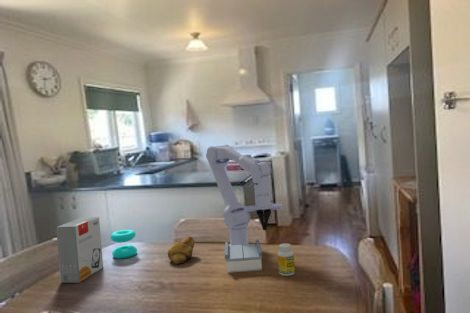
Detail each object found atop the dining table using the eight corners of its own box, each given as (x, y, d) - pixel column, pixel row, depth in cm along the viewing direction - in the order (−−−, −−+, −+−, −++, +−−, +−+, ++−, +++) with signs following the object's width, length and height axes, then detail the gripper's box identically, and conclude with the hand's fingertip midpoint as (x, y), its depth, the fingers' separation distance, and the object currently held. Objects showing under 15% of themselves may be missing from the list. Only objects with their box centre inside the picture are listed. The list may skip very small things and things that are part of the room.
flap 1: (225, 247, 142) (225, 242, 142) (241, 246, 142) (241, 240, 142) (225, 261, 127) (224, 255, 127) (243, 259, 127) (242, 253, 127)
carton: (227, 258, 142) (226, 248, 142) (258, 256, 142) (257, 246, 142) (227, 272, 128) (226, 261, 128) (261, 270, 128) (261, 259, 128)
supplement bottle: (285, 268, 128) (283, 241, 127) (298, 272, 124) (296, 244, 123) (275, 273, 124) (273, 245, 124) (288, 277, 120) (286, 248, 120)
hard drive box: (79, 283, 128) (73, 226, 127) (60, 283, 130) (54, 227, 128) (104, 266, 143) (99, 216, 142) (86, 266, 145) (81, 216, 143)
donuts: (130, 234, 149) (106, 236, 150) (133, 258, 150) (108, 260, 151) (138, 228, 159) (115, 229, 160) (140, 250, 160) (117, 252, 161)
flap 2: (242, 246, 142) (242, 240, 142) (258, 245, 142) (258, 239, 142) (244, 259, 127) (243, 253, 127) (262, 258, 127) (261, 252, 127)
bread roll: (186, 266, 138) (184, 245, 137) (161, 265, 140) (160, 245, 139) (197, 254, 150) (195, 234, 150) (174, 254, 152) (173, 235, 152)
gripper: (243, 197, 136) (246, 233, 137) (282, 194, 137) (285, 230, 137) (242, 194, 143) (245, 228, 144) (280, 191, 144) (282, 225, 144)
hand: (264, 229), depth 141 cm, fingers closed
